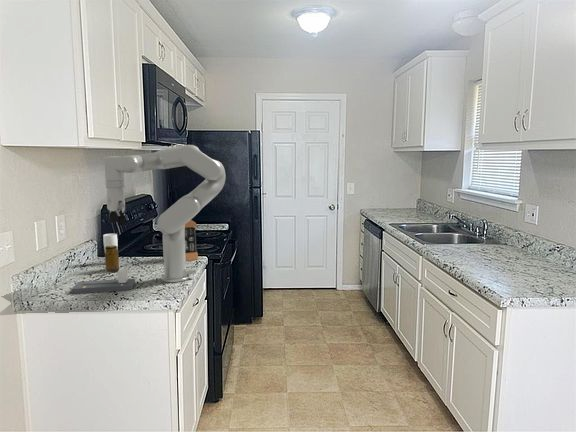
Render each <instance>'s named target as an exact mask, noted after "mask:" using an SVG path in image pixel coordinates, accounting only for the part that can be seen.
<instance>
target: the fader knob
mask: <svg viewBox="0 0 576 432" xmlns="http://www.w3.org/2000/svg"><path fill="white" fill-rule="evenodd" d="M128 274H129V273H128V268H127V267H125V269H119V271H118V272H117V279H118V283H126V282H127V280H128V279H129V277H128Z"/></svg>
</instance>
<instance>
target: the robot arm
mask: <svg viewBox="0 0 576 432" xmlns="http://www.w3.org/2000/svg"><path fill="white" fill-rule="evenodd" d="M103 163H104V179H105V180H104V181H105V189H106V208H107V210H108V211H109V212H108V213H109V221H110V223H111V224H112V223H117V225H118V226H124V225H126V201H125V192H124V189H125V173H126V174H135V173H141V172H148V171H152V170H167V169H172V168H173V169H174V168H179V167H187V168H188V169H190V170H192V171H193V172H195V173H197V174H198V175H199V176H201V177H202V178H204V180H203V181H202V182H201V183H200V184H198V185H197V186H196V188H194V189H193V190H192V191H190V192H189V193H188V194H186V195H183V196H182V197H181V198H179V199H178V200H177V201H175V203H172V205H171V206H170V207H169V208H167V209H166V210H165V211H164V212H163V213H161V214H160V215H159V216H158V218H157V222H156V226H157V228H158V231H159V232H161V233H162V251H163V253H162V254H163V273H164V274H163V275H161V276H160V280H161V282H165V283H179V282H184V281H187V280H189V279H190V277H191V276H190V275H196V274H197V270H196V269H193V268H191V269H189V268H188V267H187V265H186V262H187V261H186V260H185V224H186V223H187V222H188V221H190V220H192V219H194V218H195V217H196V215H198V213H200V211H201V210H202V209H203V208H204V207H205V206H207V205H208V204H209V203H210V202H211V201H212V200H213V199H215V198H216V197H217V196H218V195H219V193H220V192H221V191H222V190H223V188H224V186H225V182H226V177H227V176H226V170H225V167H224V165H223V164H222V162H220V161H219V160H216V159H213V158H211V157H209V156H208V155H207V154H205V153H203V151H201V150H200V149H199V147H198V146H196V145H194V144H186V145H182V146H174V147H170V148H169V147H168V148H163V149H159V150H157V151H154V152H151V153H150V152H149V153H144V154H138V155H137V154H135V155H134V154H133V155H123V156H121V155H108V156H105V157H104V159H103Z"/></svg>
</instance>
